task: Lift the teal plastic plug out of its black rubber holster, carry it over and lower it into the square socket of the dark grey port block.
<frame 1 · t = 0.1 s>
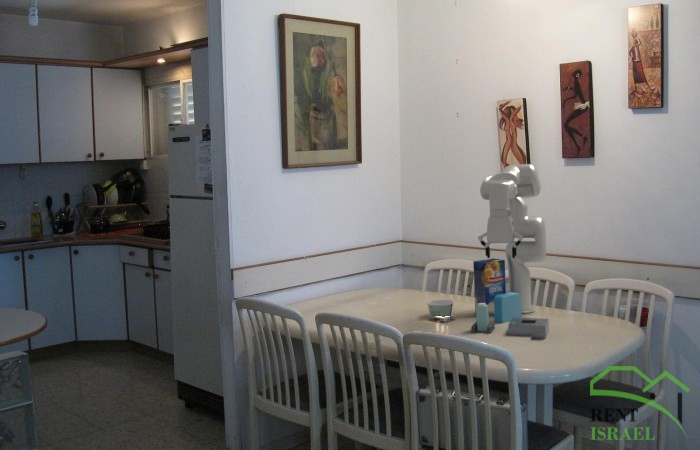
hand: (501, 257, 284), 31 cm above the table, tool pointing down, fingers open, 9 cm apart
teal plug: (483, 330, 294), point 1 cm above the table, touching holster
port block: (529, 334, 287), on the table
food container: (440, 316, 326), on the table
juice carton: (491, 314, 326), on the table
data package: (508, 322, 309), on the table
holster: (483, 332, 294), on the table
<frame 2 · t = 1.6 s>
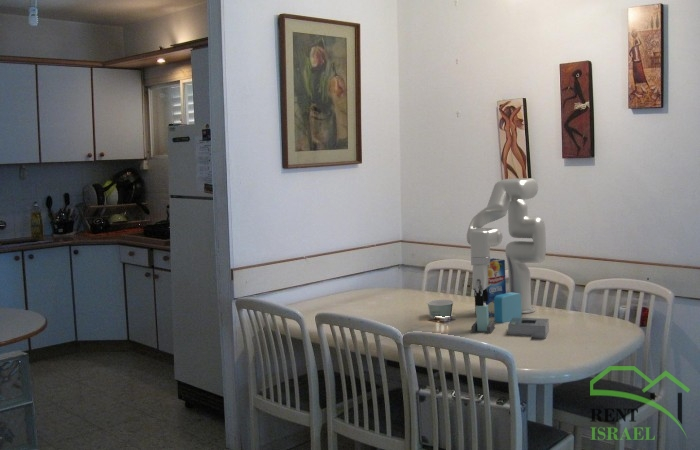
hand: (481, 303, 292), 12 cm above the table, tool pointing down, fingers open, 9 cm apart
nothing on the table moved.
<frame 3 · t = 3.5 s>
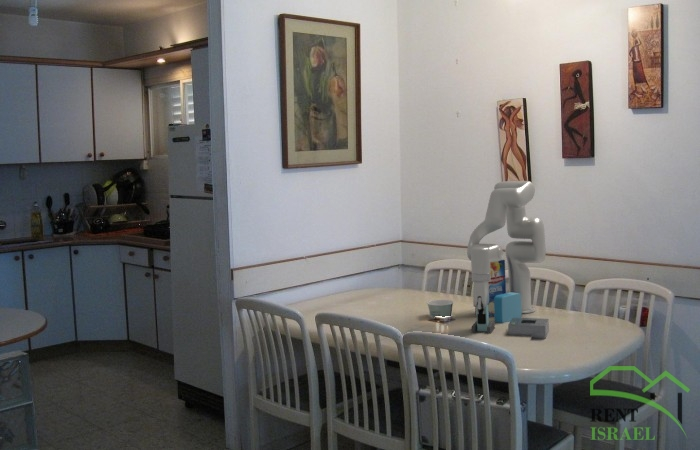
hand: (482, 322, 293), 4 cm above the table, tool pointing down, fingers closed on teal plug, 4 cm apart
teal plug: (483, 330, 294), point 1 cm above the table, touching gripper, holster
everything else where it was.
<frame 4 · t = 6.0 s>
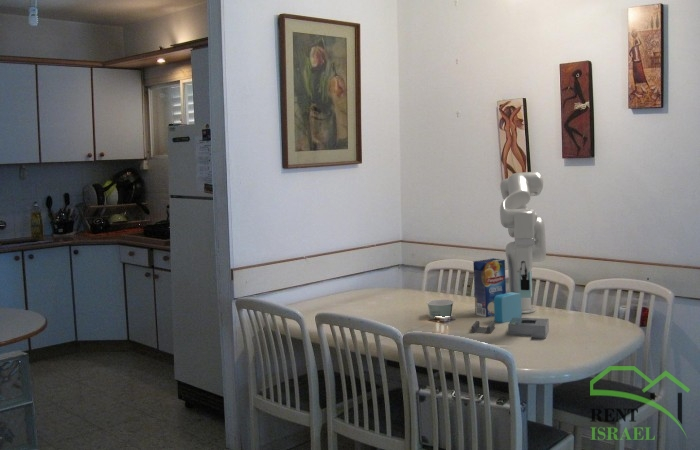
hand: (526, 288, 286), 18 cm above the table, tool pointing down, fingers closed on teal plug, 4 cm apart
teal plug: (526, 296, 286), point 15 cm above the table, touching gripper
everything else where it was.
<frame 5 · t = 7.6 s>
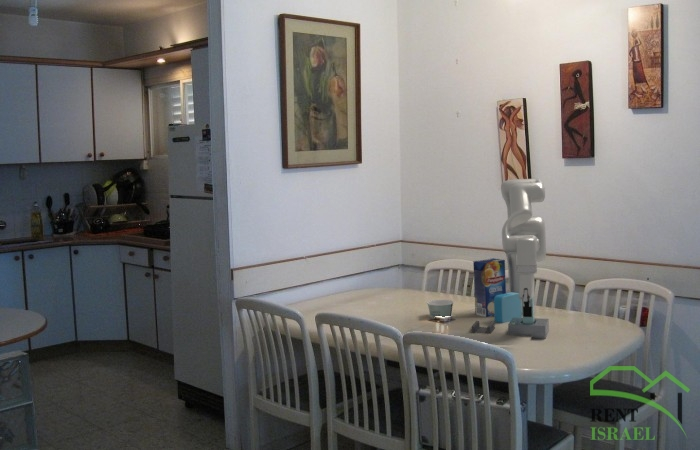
hand: (528, 314, 286), 8 cm above the table, tool pointing down, fingers closed on teal plug, 4 cm apart
teal plug: (528, 323, 286), point 4 cm above the table, touching gripper
everything else where it was.
when the fingers open (6 cm above the table, at t = 8.7 s): teal plug drops 2 cm, resting in port block.
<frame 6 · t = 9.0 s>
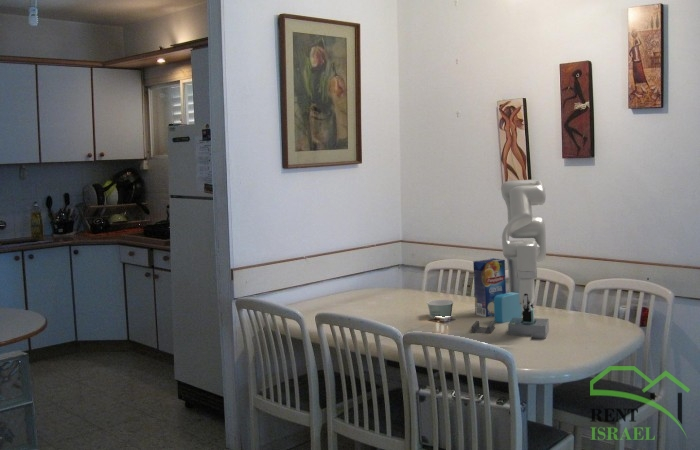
hand: (528, 318, 287), 6 cm above the table, tool pointing down, fingers open, 7 cm apart
teal plug: (529, 334, 287), resting in port block
everything else where it was.
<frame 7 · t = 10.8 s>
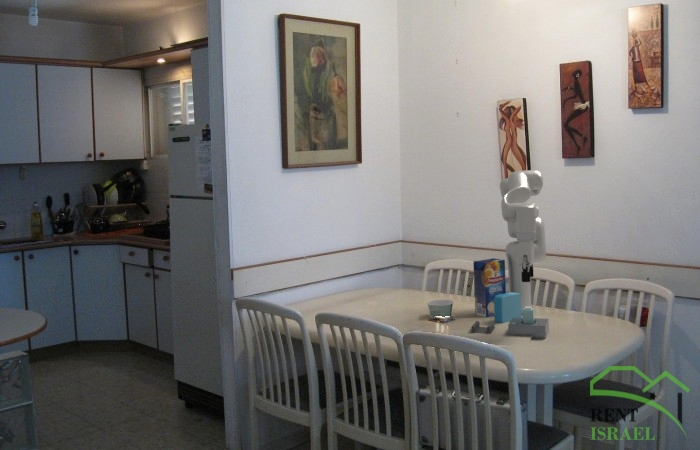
hand: (527, 279, 287), 21 cm above the table, tool pointing down, fingers open, 9 cm apart
nothing on the table moved.
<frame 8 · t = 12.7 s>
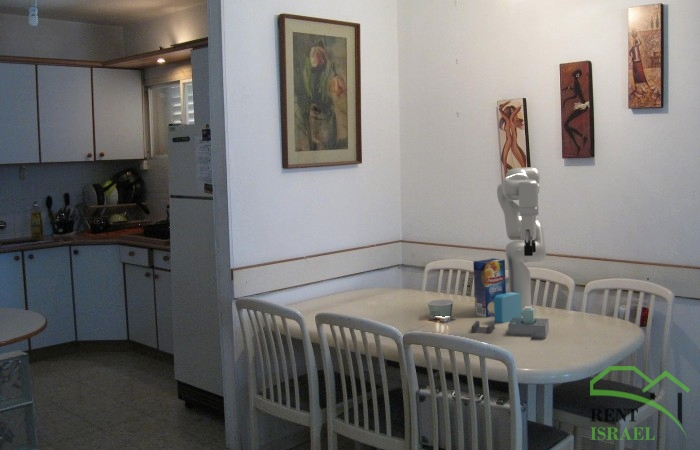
hand: (530, 253, 294), 30 cm above the table, tool pointing down, fingers open, 9 cm apart
nothing on the table moved.
at the end: teal plug 0.2 cm off-centre on the port block, point 0.0 cm above the port block's base; teal plug tilted 0°; the gripper is holding nothing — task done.
